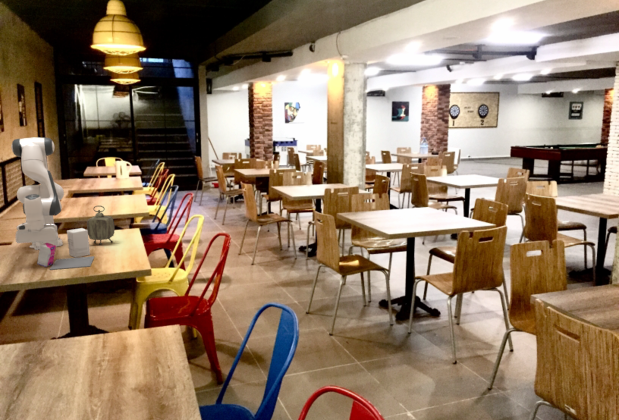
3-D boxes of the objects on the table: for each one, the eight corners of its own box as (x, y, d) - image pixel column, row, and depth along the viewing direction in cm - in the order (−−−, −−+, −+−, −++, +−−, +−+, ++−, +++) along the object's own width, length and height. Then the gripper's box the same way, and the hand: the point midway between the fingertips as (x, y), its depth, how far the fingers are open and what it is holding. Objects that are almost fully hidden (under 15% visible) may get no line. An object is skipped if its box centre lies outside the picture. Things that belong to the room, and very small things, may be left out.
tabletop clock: (115, 242, 332) (112, 204, 327) (110, 245, 323) (107, 206, 318) (93, 242, 332) (89, 204, 327) (87, 246, 323) (83, 207, 318)
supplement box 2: (84, 252, 309) (82, 227, 306) (90, 254, 303) (88, 230, 300) (68, 255, 303) (66, 230, 300) (74, 257, 297) (72, 232, 294)
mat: (56, 260, 292) (56, 259, 292) (94, 257, 298) (94, 256, 298) (49, 270, 273) (49, 269, 273) (90, 266, 279) (90, 265, 279)
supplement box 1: (46, 267, 278) (48, 247, 276) (36, 264, 279) (39, 244, 277) (53, 264, 284) (56, 245, 281) (44, 261, 285) (46, 242, 282)
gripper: (57, 222, 282) (60, 246, 285) (16, 224, 277) (19, 249, 280) (55, 224, 276) (58, 249, 279) (13, 227, 271) (16, 252, 274)
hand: (38, 249), depth 279 cm, fingers closed
